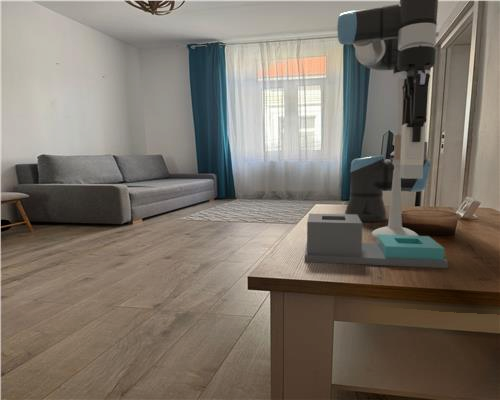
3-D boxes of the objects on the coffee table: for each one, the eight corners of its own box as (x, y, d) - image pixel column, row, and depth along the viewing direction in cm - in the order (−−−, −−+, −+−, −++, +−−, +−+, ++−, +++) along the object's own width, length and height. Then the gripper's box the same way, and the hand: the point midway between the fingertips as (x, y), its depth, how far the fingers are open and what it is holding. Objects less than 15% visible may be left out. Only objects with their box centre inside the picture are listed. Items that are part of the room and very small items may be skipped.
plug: (403, 178, 81) (405, 123, 79) (399, 177, 85) (401, 125, 83) (426, 178, 80) (429, 123, 78) (421, 177, 84) (424, 124, 82)
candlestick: (391, 242, 99) (395, 131, 95) (362, 233, 111) (365, 134, 107) (428, 239, 103) (434, 131, 100) (396, 230, 115) (400, 134, 112)
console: (304, 261, 83) (304, 222, 81) (307, 246, 96) (307, 212, 95) (447, 268, 77) (450, 226, 76) (428, 251, 90) (430, 215, 89)
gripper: (448, 35, 70) (441, 157, 73) (424, 58, 87) (419, 157, 89) (407, 38, 71) (402, 157, 74) (391, 60, 88) (387, 157, 91)
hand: (411, 157), depth 82 cm, fingers closed on plug, 4 cm apart
